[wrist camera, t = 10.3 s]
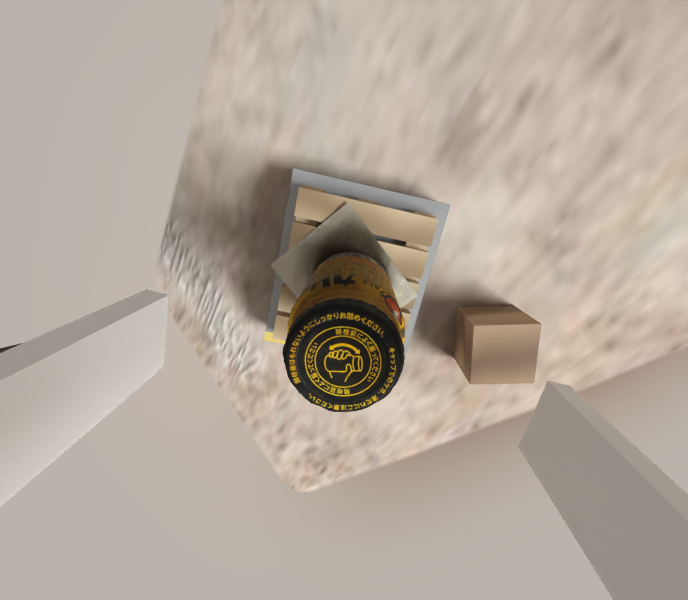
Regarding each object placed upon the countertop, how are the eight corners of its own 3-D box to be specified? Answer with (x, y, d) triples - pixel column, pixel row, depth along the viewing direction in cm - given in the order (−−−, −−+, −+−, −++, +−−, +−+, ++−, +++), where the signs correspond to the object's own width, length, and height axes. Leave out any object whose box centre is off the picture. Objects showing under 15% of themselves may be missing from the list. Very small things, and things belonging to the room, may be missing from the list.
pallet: (303, 185, 26) (299, 184, 24) (433, 215, 26) (439, 216, 24) (277, 331, 29) (271, 340, 28) (392, 356, 30) (395, 367, 28)
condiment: (340, 349, 28) (328, 456, 16) (270, 264, 26) (200, 317, 14) (417, 295, 26) (465, 371, 15) (348, 201, 24) (340, 204, 13)
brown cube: (456, 306, 31) (473, 325, 27) (512, 305, 31) (541, 324, 26) (453, 357, 33) (470, 384, 28) (508, 356, 33) (534, 383, 28)
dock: (299, 171, 29) (293, 168, 26) (441, 204, 29) (450, 204, 26) (272, 327, 33) (263, 339, 30) (397, 354, 33) (401, 370, 30)
